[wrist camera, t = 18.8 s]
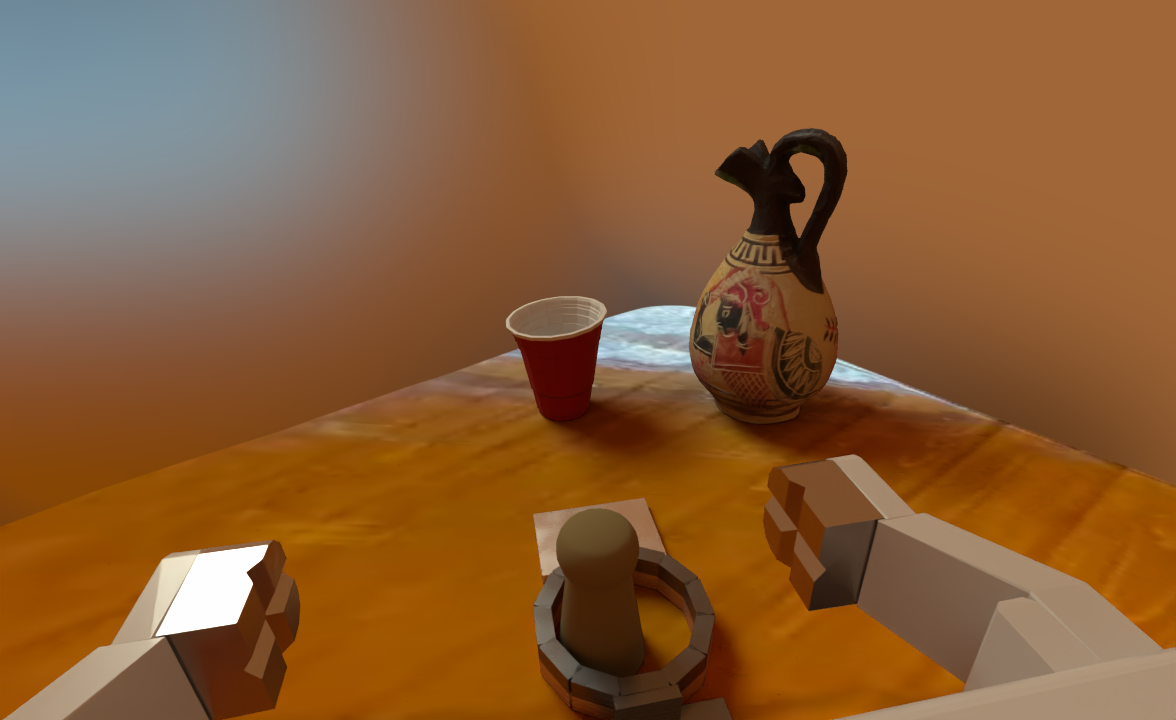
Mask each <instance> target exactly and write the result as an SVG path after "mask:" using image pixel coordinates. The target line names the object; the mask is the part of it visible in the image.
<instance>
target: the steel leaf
mask: <svg viewBox="0 0 1176 720" xmlns="http://www.w3.org/2000/svg"><path fill="white" fill-rule="evenodd" d="M596 508H602V509H609V510H612V511H615V512H617V513H620V514H621V515H622V516H624V517H625V518H626V519H627V520H628V521H629V522H630V523H631V525H632V526H633V528H634V529H635V531H636V533H637V536H638V541H639V547H643V548H648V549H652V550H656V551H660V552H665V555H666V551H665V549H664V546H663V544H662V541H661V539H660V536H659V534H658V531H657V529H656V526H655V524H654V521H653V519H652V516H651V514H650V511H649V509H648V506H647V504H646V501H645V499H644V498H641V499H634V500H627V501H620V502H613V503H607V504H600V505H593V506H586V507H580V508H573V509H566V510H559V511H552V512H546V513H539V514H533V516H534V525H535V532H536V539H537V546H538V552H539V559H540V566H541V573H542V580H543V583H545V582H546V580H547V578H548V576H549V575H550V573H552V571H553V570H554V569H556V568H557V567H559V566H560V565H559V563H558V561H557V555H556V541H557V537H558V534H559V532H560V530H561V527H562V526H563V525H564V524H565V522H566V521H567V520H568V519H569V518H570V517H571V516H573V515H575V514H576V513H578V512H580V511H584V510H587V509H596ZM632 579H633V584H636V585H640V586H644V587H647V588H651V589H655V590H658V591H659V592H660V593H662V594H663V595H664V596H665V597H666V598H668V599H669V600H670V601H671V602H672V603H674V604H675V605H676V606H677V607H679V608H680V609H681V610H682V611H683V613H684V615H685V618H686V621H687V623H688V626H689V628H690V631H691V633H692V631H693V627H694V623H693V620H692V617H691V615H690V612H689V610H688V607H687V605H686V602H685V600H684V598H683V597H682V596H681V595H680V594H678V593H677V592H676V591H675V590H673V589H672V588H671V587H670V586H669V585H667V584H666V583H665V582H664V581H662V580H661V579H660V578H659V577H656V576H652V575H648V574H644V573H640V572H636V571H633V573H632ZM562 604H563V599H562V601H561V603H560V605H559V607H558V609H557V611H556V613H555V615H554V617H553V624H554V631H555V629H556V627H557V625H558V623H559V620H560V618H561V614H562ZM535 629H536V628H535ZM713 631H714V630H713ZM536 638H537V636H536ZM712 641H713V635H712V640H711V645H710V650H709V655H708V660H707V665H706V668H705V670H704V671H703V672H702V673H701V674H700V675H699V676H698V677H697V678H696V679H695V680H694V681H693V682H692V683H691V684H690V685H688V686H687V687H686V688H685V689H684V690H683V691H682V692H681V696H682V703H681V705H682V704H683V703H684V702H685V701H686V700H687V699H688V698H689V697H691V696H692V695H693V694H694V693H695V692H696V691H697V690H698V689H699V688H700V687H701V686H702V685H703V682H705V677H706V672H707V667H708V662H709V657H710V652H711V647H712ZM537 646H538V644H537ZM538 654H539V653H538ZM539 663H540V671H541V672H542V676H543V677H544V678H545V679H546V681H547V682H548V683H549V684H550V685H551V686H552V688H553V689H554V690H555V691H556V692H557V693H558V695H559V696H560V697H561V698H562V699H563V701H564V702H565V703H566V704H567V705H568V706H569V708H571V707H573V710H574V711H577V712H580V713H583V714H586V715H589V716H592V717H595V718H598V719H601V720H612V719H613V709H610V708H607V707H604V706H600V705H597V704H594V703H591V702H588V701H585V700H582V699H579V698H576V697H573V696H572V693H570V694H568V693H567V691H566V690H565V689H564V688H563V687H562V686H561V685H560V683H559V682H558V681H557V680H556V679H555V678H554V676H553V675H552V674H551V673H550V672H549V671H548V670H547V668H546V667H545V666H544V665H543V664H542V663H541V662H540V659H539Z"/></svg>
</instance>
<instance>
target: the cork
mask: <svg viewBox="0 0 1176 720" xmlns="http://www.w3.org/2000/svg"><path fill="white" fill-rule="evenodd" d="M556 555H557V561H558V563H559V565H560V567H561V570H562V572H563V574H564V575H565V585H564V595H563V604H562V614H561V624H560V633H559V643H560V644H561V645H562V646H563V647H564V648H565V649H566V650H567V651H568V652H569V653H570V654H571V656H572V657H573V658H574V659H575V660H576V661H577V662H578V663H579V664H580V665H581V666H584V667H587V668H590V669H593V670H597V671H600V672H603V673H606V674H610V675H613V676H616V677H619V678H622V677H627V676H633V675H635V674H636V673H637V671H638V670H639V668H640V666H641V665H642V663H643V659H644V654H645V646H644V640H643V634H642V629H641V623H640V618H639V612H638V607H637V601H636V596H635V590H634V584H633V579H632V573H633V571H634V570H635V567H636V564H637V561H638V557H639V541H638V536H637V533H636V531H635V529H634V528H633V526H632V525H631V523H630V522H629V521H628V520H627V519H626V518H625V517H624V516H622V515H621V514H620V513H617V512H615V511H612V510H609V509H602V508H596V509H587V510H584V511H580V512H578V513H576V514H575V515H573V516H571V517H570V518H569V519H568V520H567V521H566V522H565V524H564V525H563V526H562V527H561V530H560V532H559V534H558V537H557V541H556Z"/></svg>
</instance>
